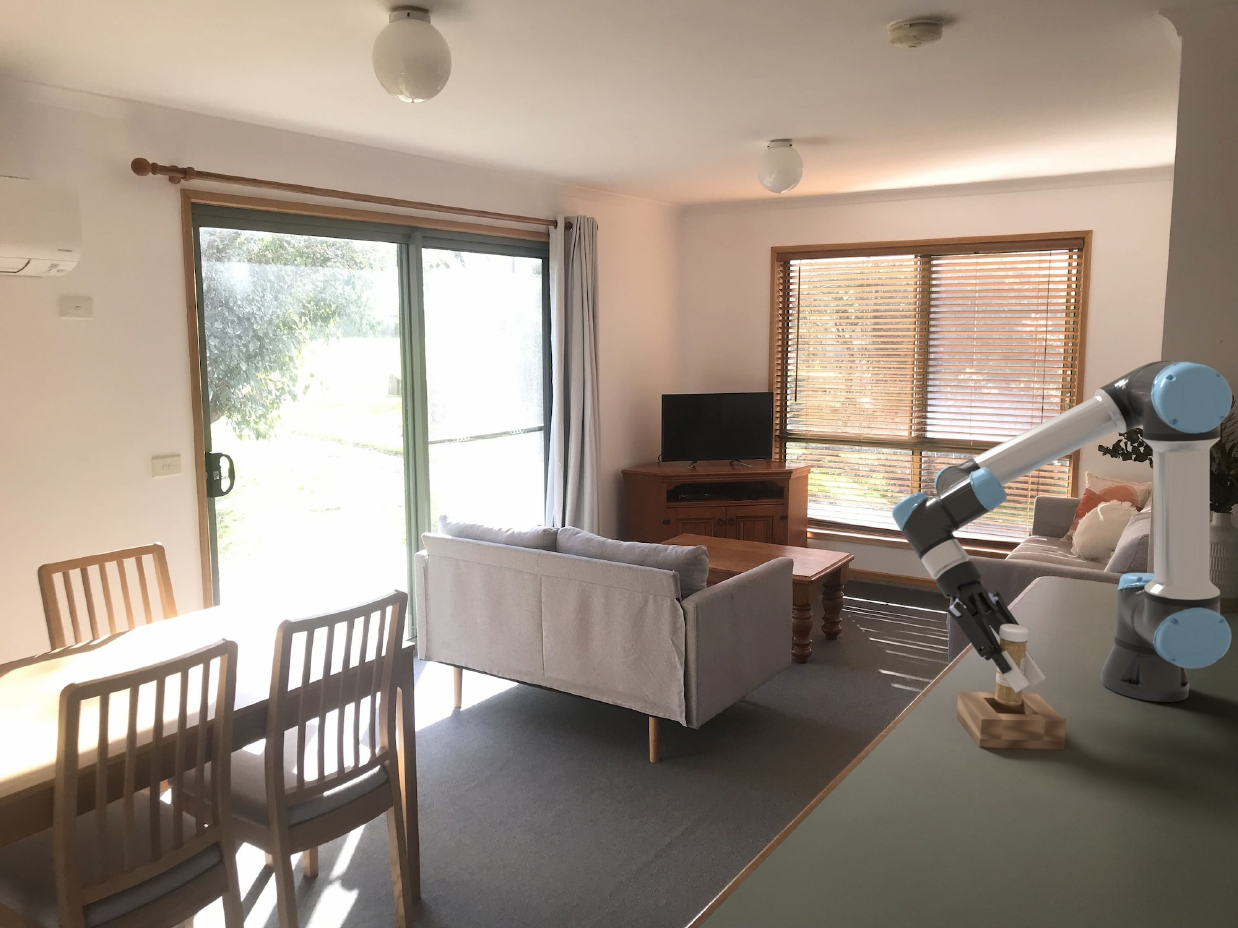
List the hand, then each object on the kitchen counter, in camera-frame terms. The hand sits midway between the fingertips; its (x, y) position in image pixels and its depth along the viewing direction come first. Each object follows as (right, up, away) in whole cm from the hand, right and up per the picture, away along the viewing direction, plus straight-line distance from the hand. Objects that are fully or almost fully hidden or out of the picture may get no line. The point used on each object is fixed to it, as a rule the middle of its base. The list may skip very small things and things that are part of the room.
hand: (1030, 685), depth 156 cm
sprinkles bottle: (-2, -4, +4) cm, 6 cm away
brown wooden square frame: (-2, -9, +4) cm, 11 cm away
